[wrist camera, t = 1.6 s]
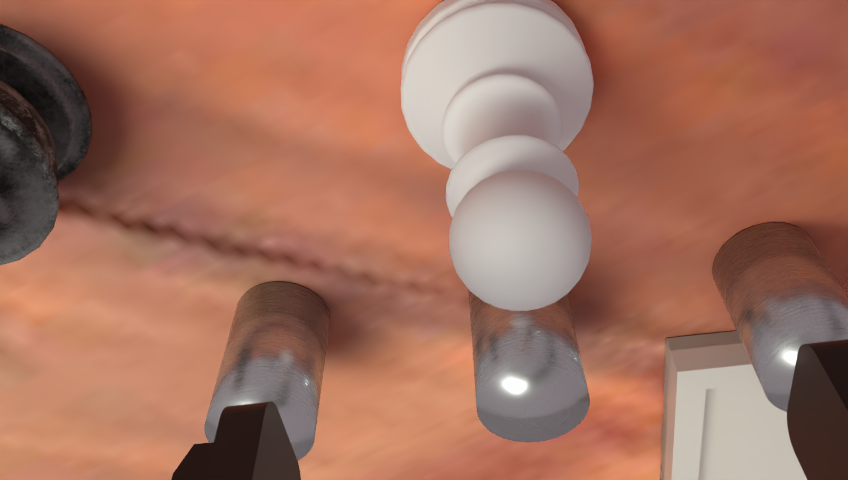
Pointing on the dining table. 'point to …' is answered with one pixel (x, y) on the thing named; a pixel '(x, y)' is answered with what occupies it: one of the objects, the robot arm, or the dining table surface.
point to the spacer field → (536, 342)
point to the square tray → (720, 415)
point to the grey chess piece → (35, 140)
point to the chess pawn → (504, 142)
